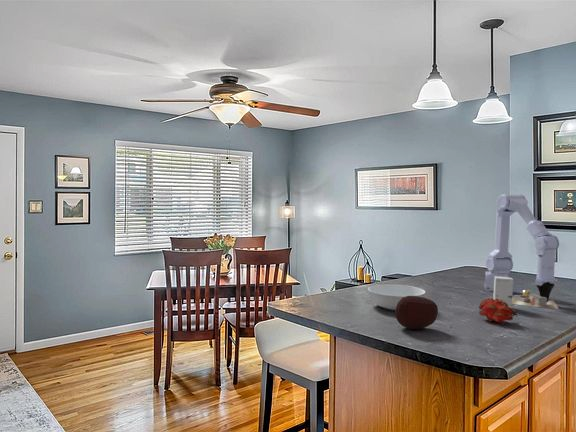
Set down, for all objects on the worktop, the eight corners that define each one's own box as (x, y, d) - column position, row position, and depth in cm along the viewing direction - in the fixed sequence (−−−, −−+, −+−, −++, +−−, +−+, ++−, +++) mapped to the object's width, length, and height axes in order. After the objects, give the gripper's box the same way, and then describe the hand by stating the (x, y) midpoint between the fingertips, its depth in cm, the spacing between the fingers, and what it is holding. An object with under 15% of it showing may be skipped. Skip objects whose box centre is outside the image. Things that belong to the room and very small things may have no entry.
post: (522, 300, 178) (522, 290, 178) (522, 299, 180) (522, 289, 180) (530, 301, 177) (531, 291, 176) (530, 299, 179) (530, 290, 179)
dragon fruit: (475, 321, 154) (513, 334, 146) (472, 311, 148) (510, 323, 140) (484, 300, 157) (521, 311, 149) (480, 289, 151) (518, 300, 143)
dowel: (530, 305, 170) (530, 297, 170) (530, 304, 171) (530, 296, 171) (534, 305, 170) (535, 297, 169) (534, 304, 171) (534, 297, 171)
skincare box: (494, 310, 164) (495, 277, 163) (492, 307, 168) (493, 276, 168) (512, 312, 162) (513, 279, 162) (510, 309, 166) (511, 277, 166)
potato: (443, 334, 133) (444, 299, 133) (400, 334, 132) (401, 299, 132) (429, 323, 144) (430, 292, 144) (389, 323, 143) (390, 292, 143)
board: (507, 305, 172) (507, 303, 172) (506, 297, 187) (506, 295, 187) (558, 310, 165) (558, 308, 165) (553, 302, 180) (553, 300, 180)
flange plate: (512, 297, 182) (513, 290, 181) (528, 297, 182) (529, 290, 182) (534, 305, 168) (535, 297, 168) (552, 305, 169) (552, 297, 169)
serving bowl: (356, 303, 171) (357, 285, 171) (401, 299, 179) (401, 282, 179) (389, 317, 152) (390, 297, 152) (437, 312, 160) (438, 293, 160)
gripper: (550, 269, 163) (549, 306, 164) (563, 266, 173) (562, 300, 174) (530, 267, 169) (528, 302, 169) (543, 264, 178) (542, 297, 179)
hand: (544, 301), depth 172 cm, fingers closed, pressing on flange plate
